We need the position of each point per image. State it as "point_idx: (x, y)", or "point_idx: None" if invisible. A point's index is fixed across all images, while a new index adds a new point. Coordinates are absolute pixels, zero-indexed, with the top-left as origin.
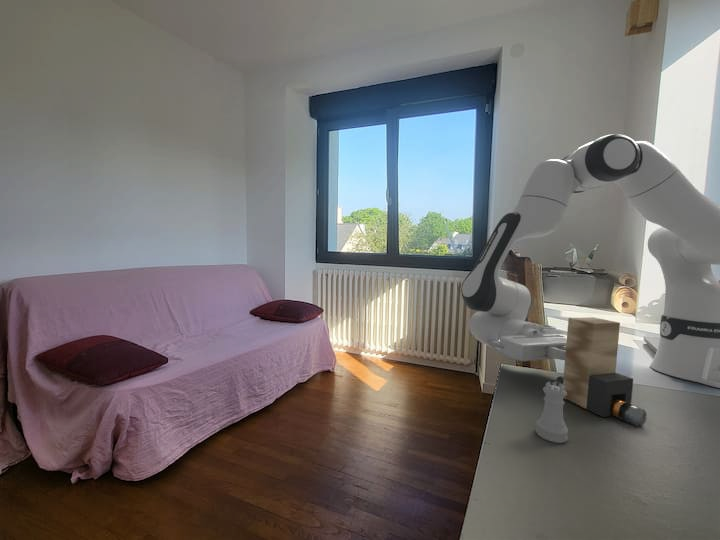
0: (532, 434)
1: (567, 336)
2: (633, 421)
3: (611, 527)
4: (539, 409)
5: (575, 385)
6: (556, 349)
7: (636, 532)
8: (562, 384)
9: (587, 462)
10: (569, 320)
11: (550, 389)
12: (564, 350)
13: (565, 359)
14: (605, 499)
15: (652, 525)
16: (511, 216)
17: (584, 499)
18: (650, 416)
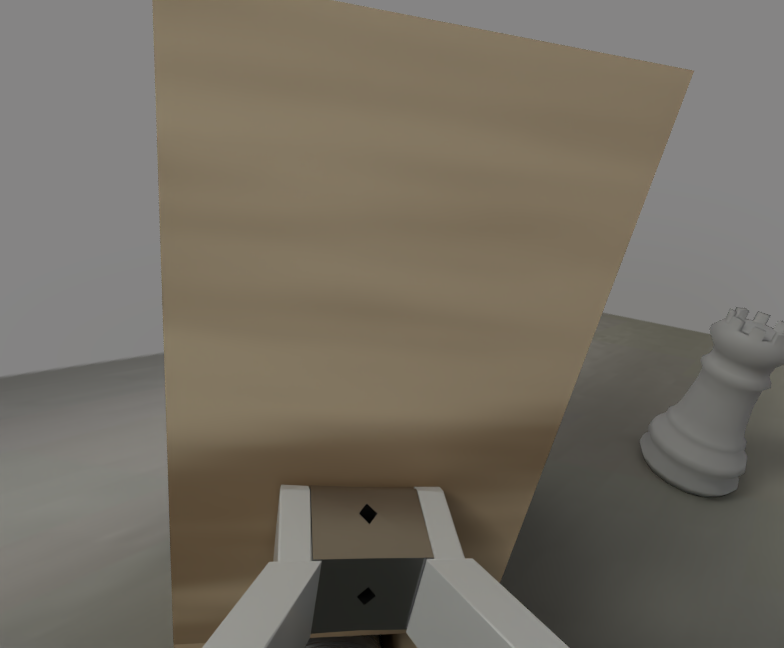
0: (743, 486)
1: (600, 307)
2: None
3: (667, 329)
4: (667, 623)
5: None
6: (541, 628)
7: (637, 320)
8: None
9: (629, 391)
10: (671, 104)
11: (776, 329)
12: (446, 577)
13: (527, 504)
14: (648, 346)
15: (606, 318)
16: None
17: (684, 354)
18: (137, 466)
